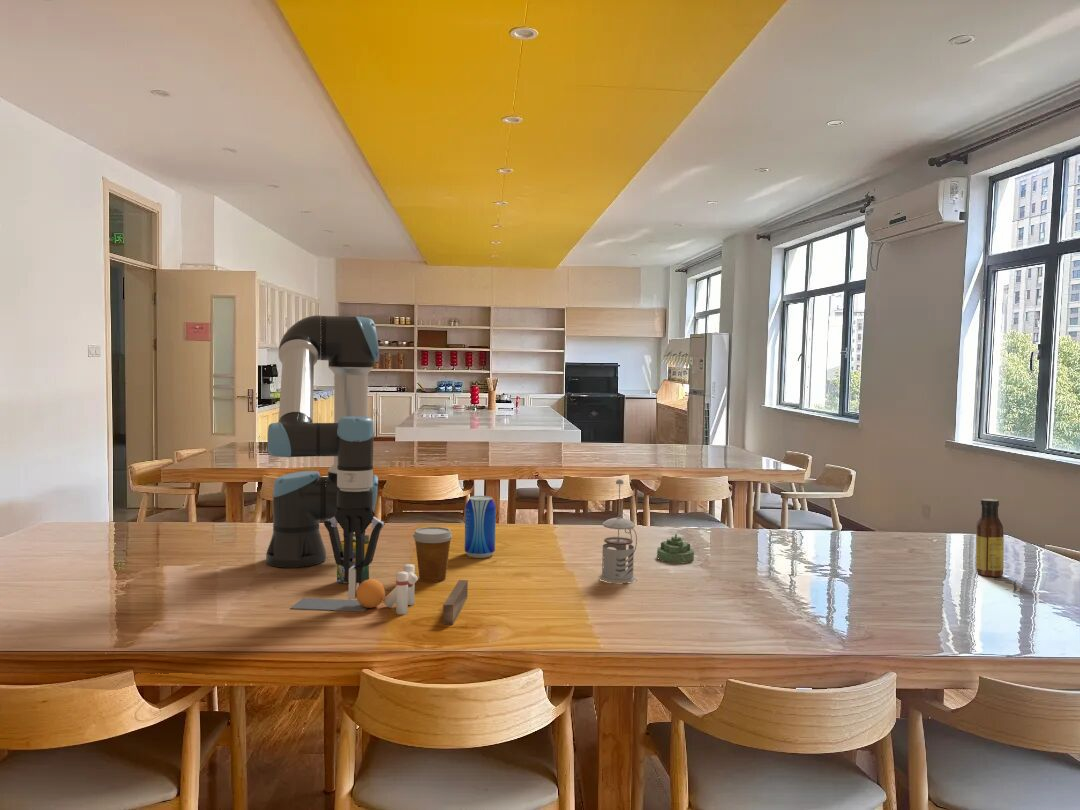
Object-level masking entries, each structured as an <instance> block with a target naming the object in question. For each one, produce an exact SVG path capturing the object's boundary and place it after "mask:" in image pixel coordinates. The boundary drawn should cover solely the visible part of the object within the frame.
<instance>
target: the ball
mask: <svg viewBox="0 0 1080 810" xmlns="http://www.w3.org/2000/svg"><path fill="white" fill-rule="evenodd" d="M385 593H386V591H385V587H384V585H383V584H382V583H381V582H380V581H379V580H377V579H373V578H369V579H368V580H365V581H363V582H362V583H361V584H360V585H359V586H358V588H357V591H356V597H357V598H356V600H358V602H359V603H360V604H361V605H362V606H364V607H367V609H371V608H376V607H377V606H379V605H380V604H381V603H382V602H383V600H384V598H385Z"/></svg>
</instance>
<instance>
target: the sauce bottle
mask: <svg viewBox="0 0 1080 810" xmlns="http://www.w3.org/2000/svg"><path fill="white" fill-rule="evenodd" d="M980 505H981V517H980V518H979V519H978V520H977V522H976V534H975V536H976V537H975V540H976V541H975V543H976V544H975V545H976V546H975V568H976V573H977V574H978V575H980V576H984V577H990V578H999V577H1000V578H1001V577H1002V576H1003V574H1004V568H1005V567H1004V566H1005V565H1004V556H1005V555H1004V553H1005V552H1004V550H1005V549H1004V544H1005V543H1004V526H1003V524H1002V522H1001V520H1000V518H999V506H1000V500H999V499H995V498H981V500H980Z"/></svg>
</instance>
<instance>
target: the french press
mask: <svg viewBox="0 0 1080 810" xmlns="http://www.w3.org/2000/svg"><path fill="white" fill-rule="evenodd" d="M615 485H618V486H619V488H618V514H621V513H620V512H621V511H620V510H621V509H620V504H621V485H624V480H623V479H622V478H621V479H619V478H618V479H617V480H616V481H615ZM602 526H603V527H604V528H606V529H613V530H617V532H618V533H617V535H618V536H609V537H606V538H604V539H603V542H605V543H604V544H602V553H601V554H602V558H601V559H602V564H601V573H600V575H599V576H598V577H599V578H600V579H601V580H604V581H607V582H611V583H628V582H633V581H634V580H636V578H637V577H636V576H635V575H634V563H635V562H634V560H635V559H634V557H635V555H634V554H635V552H636V550H637V545H638V536H637V533H636V530H635V529H634V528H636V527H635V526H636V524H635V523H634V522H633V521H632V520H630V519H628V518H623V517H621V516H617V517H612V518H609V519H606V520H605V521H603V522H602ZM620 530H624V533H626V534H630V538H628V537H622V536H620ZM627 530H628V531H627ZM632 531H634V534H635V546H634V545H632V543H634V542H633V539H632V538H633V536H632V535H633V534H632ZM627 546H628V548H627ZM611 548H613V549H611ZM626 563H627V564H626ZM611 583H610V584H611Z"/></svg>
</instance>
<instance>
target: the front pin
mask: <svg viewBox="0 0 1080 810" xmlns="http://www.w3.org/2000/svg"><path fill="white" fill-rule="evenodd" d="M418 580H419V576H417V574H416V573H415V574H414V573H413V572H409V573H408V589H409V588H411V587H412V586H413V585H414V586H415V584H414V583H416V582H417V581H418ZM382 602H383V603H384V605H385V606H386V607H387V608H389V609H391V608H393V606H394V605H396V586H395V587H394V588H393V589H391V591H390V592H389V593H388V594H387V595H386V596H384V599H383V600H382Z"/></svg>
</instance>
